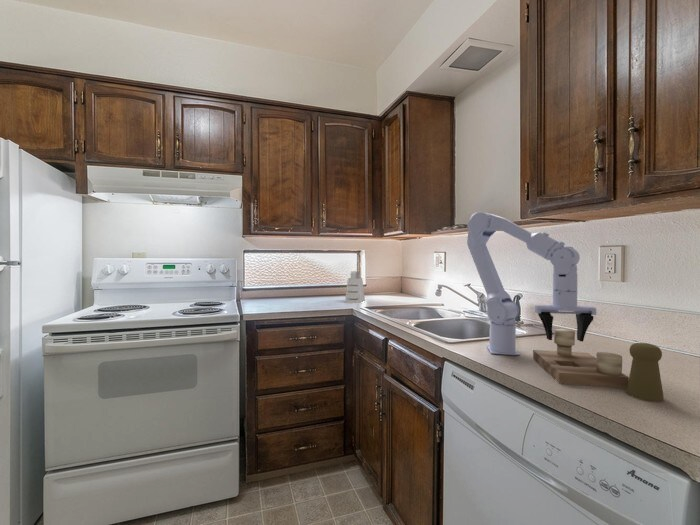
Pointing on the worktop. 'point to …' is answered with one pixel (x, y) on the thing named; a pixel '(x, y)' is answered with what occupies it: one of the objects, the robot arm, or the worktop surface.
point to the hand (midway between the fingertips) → (564, 340)
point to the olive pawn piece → (645, 373)
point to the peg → (564, 341)
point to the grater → (354, 289)
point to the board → (584, 368)
